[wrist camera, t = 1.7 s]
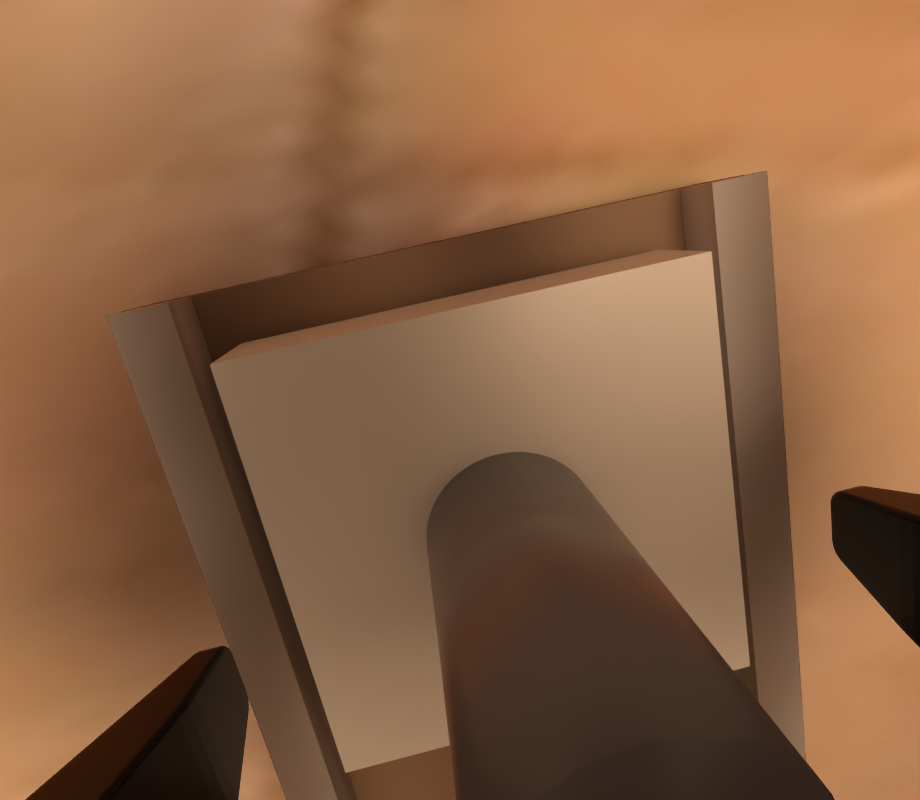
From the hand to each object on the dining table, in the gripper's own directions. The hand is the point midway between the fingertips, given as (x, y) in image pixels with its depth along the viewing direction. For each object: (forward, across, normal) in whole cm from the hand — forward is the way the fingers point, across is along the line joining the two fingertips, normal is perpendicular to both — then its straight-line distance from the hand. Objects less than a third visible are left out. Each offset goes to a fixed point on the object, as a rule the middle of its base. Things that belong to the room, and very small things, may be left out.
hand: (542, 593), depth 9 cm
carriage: (+4, 0, 0) cm, 4 cm away
